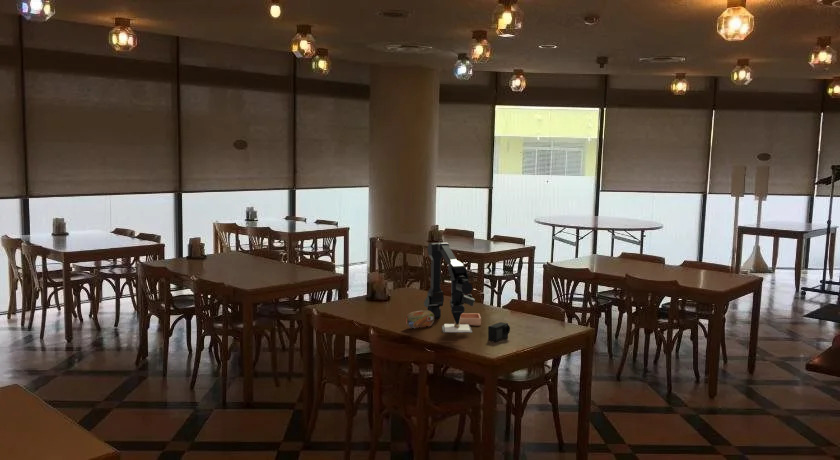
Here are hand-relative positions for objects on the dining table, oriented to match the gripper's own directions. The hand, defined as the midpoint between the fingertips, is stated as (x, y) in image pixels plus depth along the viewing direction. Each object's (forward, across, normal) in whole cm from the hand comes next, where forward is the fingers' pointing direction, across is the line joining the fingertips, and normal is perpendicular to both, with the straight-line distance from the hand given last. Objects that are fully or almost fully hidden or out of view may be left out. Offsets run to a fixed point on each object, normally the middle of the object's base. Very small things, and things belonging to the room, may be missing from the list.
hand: (456, 322), depth 348 cm
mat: (+4, 0, 0) cm, 4 cm away
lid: (+3, 0, 0) cm, 3 cm away
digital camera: (+4, -18, -19) cm, 26 cm away
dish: (+4, +12, -7) cm, 15 cm away
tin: (+4, +4, +18) cm, 19 cm away
